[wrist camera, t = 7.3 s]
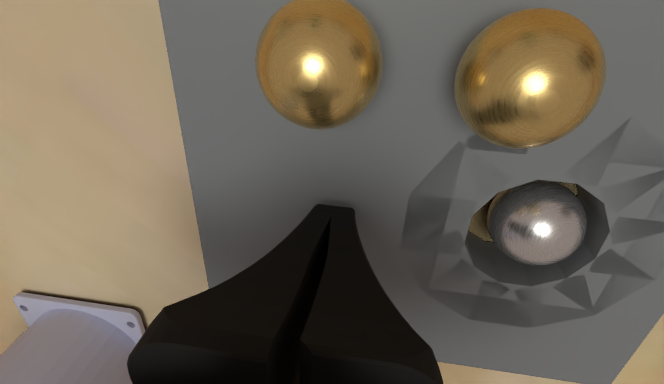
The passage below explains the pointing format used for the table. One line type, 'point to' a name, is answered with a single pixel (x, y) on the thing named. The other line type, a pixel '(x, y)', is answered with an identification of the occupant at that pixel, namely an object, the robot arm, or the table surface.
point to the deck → (440, 180)
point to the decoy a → (319, 62)
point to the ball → (537, 222)
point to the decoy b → (530, 78)
